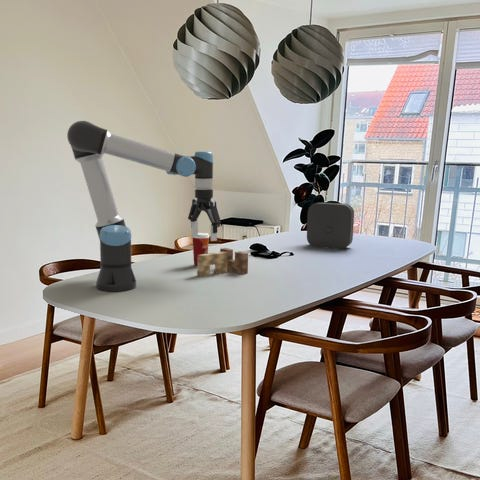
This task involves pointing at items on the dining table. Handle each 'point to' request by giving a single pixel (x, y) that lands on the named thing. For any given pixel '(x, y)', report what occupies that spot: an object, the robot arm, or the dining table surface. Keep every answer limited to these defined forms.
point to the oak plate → (211, 263)
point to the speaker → (330, 225)
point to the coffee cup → (200, 245)
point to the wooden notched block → (236, 261)
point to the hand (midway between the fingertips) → (204, 238)
